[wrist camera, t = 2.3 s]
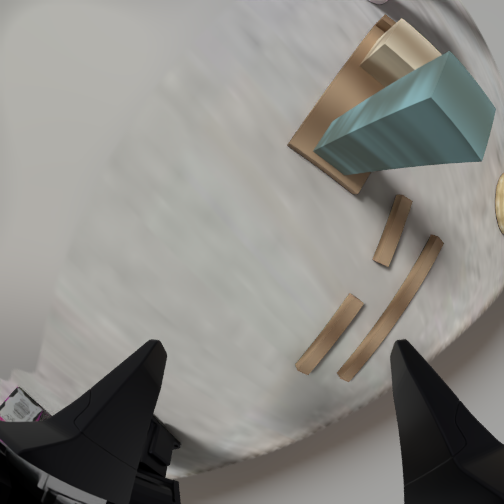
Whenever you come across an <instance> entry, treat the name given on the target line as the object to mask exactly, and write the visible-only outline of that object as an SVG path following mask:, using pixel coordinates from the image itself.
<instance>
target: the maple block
mask: <svg viewBox="0 0 504 504" xmlns="http://www.w3.org/2000/svg"><path fill="white" fill-rule="evenodd" d="M441 55H442V54H441V53H440V52H439V51H438V50H437V49H436V48H435V47H434V46H433V45H432V44H431V43H430V42H429V41H427V40H426V39H425V38H424V37H423V36H422V35H421V34H420V33H419V32H418V31H417V30H415V29H414V28H413V27H412V26H411V25H410V24H408V23H407V22H406V21H405V20H404V19H402V18H401V19H400V20H399V21H398V22H397V23H396V24H395V25H393V26H392V27H391V28H390V29H389V30H388V31H387V32H386V33H384V34H383V35H382V36H381V37H380V38H379V39H378V40H377V41H376V43H375V44H374V46H373V47H372V48H371V50H370V51H369V53H368V54H367V55H366V57H365V58H364V60H363V61H362V63H361V64H360V65H359V66H360V67H361V68H363V69H364V70H365V71H366V72H368V73H369V74H370V75H371V76H373V77H374V78H375V79H376V80H377V81H379V82H380V83H381V84H382V85H383V86H385V87H387V86H389V85H390V84H392V83H394V82H395V81H397V80H399V79H400V78H402V77H404V76H405V75H407V74H409V73H410V72H412V71H414V70H416V69H417V68H419V67H421V66H423V65H425V64H426V63H428V62H430V61H432V60H434V59H435V58H437V57H439V56H441Z"/></svg>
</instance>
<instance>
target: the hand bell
mask: <svg viewBox="0 0 504 504" xmlns="http://www.w3.org/2000/svg"><path fill="white" fill-rule="evenodd" d="M495 210H496V217H497V221H498V225H499V228H500V230H501V232H502V233H503V234H504V173H503V174H502V175H501V177H500V179H499V181H498V184H497V188H496V197H495Z"/></svg>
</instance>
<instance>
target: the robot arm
mask: <svg viewBox="0 0 504 504" xmlns="http://www.w3.org/2000/svg"><path fill="white" fill-rule="evenodd" d="M166 360H167V353H166V351H165V349H164V347H163V345H162V343H161V342H160V341H159V340H153V339H151V340H149V341H147V342H146V343H145V344H144V345H143V346H141V347H140V348H139V349H138V350H137V351H135V352H134V353H133V354H132V355H131V356H129V357H128V358H127V359H126V360H124V361H123V362H122V363H121V364H120V365H118V366H117V367H116V368H115V369H114V370H112V371H111V372H110V373H109V374H108V375H106V376H105V377H104V378H103V379H101V380H100V381H99V382H98V383H97V384H95V385H94V386H93V387H92V388H91V389H89V390H88V391H87V392H86V393H84V394H83V395H82V396H81V397H79V398H78V399H77V400H75V401H74V402H73V403H71V404H70V405H68V406H67V407H65V408H64V409H62V410H61V411H59V412H58V413H56V414H55V415H53V416H52V417H50V418H48V419H46V420H43V421H30V422H6V421H2V420H0V439H1V440H2V441H3V442H4V443H5V444H6V445H5V444H4V443H3V442H1V441H0V504H181V503H180V492H179V482H178V481H175V480H170V479H167V478H165V477H166V471H167V466H169V465H170V461H171V455H172V450H174V449H178V448H180V446H181V444H180V442H179V441H177V440H176V439H175V438H174V437H173V436H172V435H171V434H170V433H169V432H168V431H167V430H166V429H165V428H164V427H163V426H162V425H161V424H160V423H159V422H158V421H157V420H156V419H155V418H154V417H153V412H154V409H155V406H156V403H157V399H158V396H159V393H160V389H161V385H162V380H163V375H164V370H165V365H166ZM390 361H391V372H392V386H393V397H394V403H395V409H396V415H397V422H398V429H399V437H400V445H401V455H402V466H403V479H404V502H405V503H404V504H504V444H502V443H501V442H499V441H498V440H497V439H496V438H495V437H494V436H493V435H492V434H491V433H490V432H489V431H488V430H487V429H486V428H485V427H484V426H483V425H482V424H481V423H480V422H479V421H478V420H477V419H476V418H475V417H474V416H473V415H472V414H471V413H470V412H469V410H468V409H467V408H466V407H465V406H464V405H463V403H462V402H461V401H459V399H458V398H457V396H456V395H455V394H454V393H453V391H452V390H451V389H450V388H449V387H448V386H447V384H446V383H445V382H444V381H443V380H442V379H441V377H440V376H439V375H438V374H437V373H436V372H435V371H434V369H433V368H432V367H431V366H430V365H429V364H428V363H427V361H426V360H425V359H424V358H423V357H422V356H421V355H420V354H419V353H418V351H417V350H416V349H415V348H414V347H413V346H412V345H411V344H410V343H409V342H408V341H407V340H406V339H403V340H397V341H396V342H395V344H394V346H393V349H392V352H391V356H390Z"/></svg>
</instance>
